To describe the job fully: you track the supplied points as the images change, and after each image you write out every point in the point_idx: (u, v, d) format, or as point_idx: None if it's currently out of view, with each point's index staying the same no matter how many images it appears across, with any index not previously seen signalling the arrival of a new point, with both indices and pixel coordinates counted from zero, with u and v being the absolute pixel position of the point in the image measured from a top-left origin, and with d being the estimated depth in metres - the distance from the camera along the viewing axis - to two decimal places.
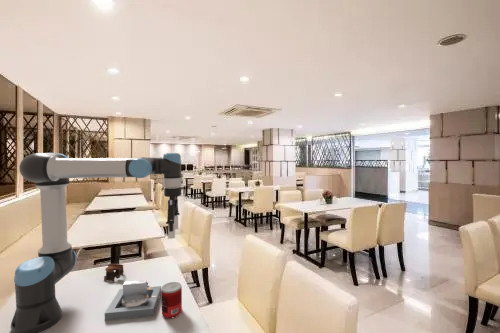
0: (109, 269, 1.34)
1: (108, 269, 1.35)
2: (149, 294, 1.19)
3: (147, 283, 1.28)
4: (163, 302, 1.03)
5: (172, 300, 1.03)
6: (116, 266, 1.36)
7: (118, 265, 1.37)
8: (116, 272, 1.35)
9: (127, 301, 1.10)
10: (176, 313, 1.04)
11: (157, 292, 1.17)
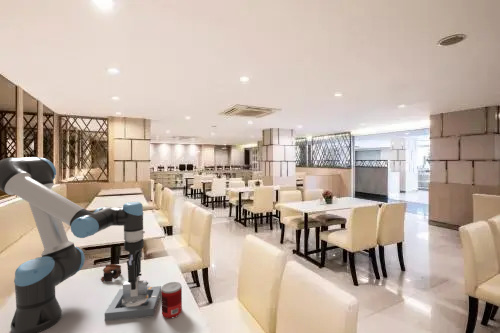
0: (107, 270, 1.34)
1: (106, 270, 1.34)
2: (149, 294, 1.19)
3: (147, 283, 1.28)
4: (163, 302, 1.03)
5: (172, 300, 1.03)
6: (114, 267, 1.36)
7: (116, 266, 1.37)
8: (114, 273, 1.34)
9: (127, 301, 1.10)
10: (176, 313, 1.04)
11: (157, 292, 1.17)
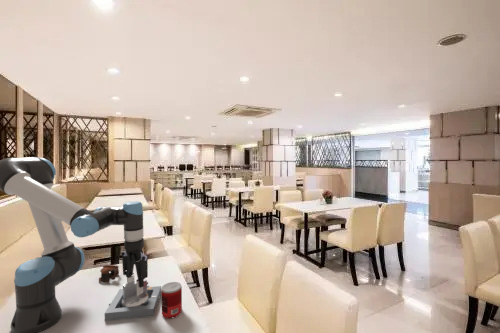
0: (104, 270, 1.33)
1: (103, 270, 1.33)
2: (149, 294, 1.19)
3: (147, 283, 1.28)
4: (163, 302, 1.03)
5: (172, 300, 1.03)
6: (111, 267, 1.35)
7: (113, 266, 1.36)
8: (111, 273, 1.33)
9: (129, 302, 1.09)
10: (176, 313, 1.04)
11: (157, 292, 1.17)
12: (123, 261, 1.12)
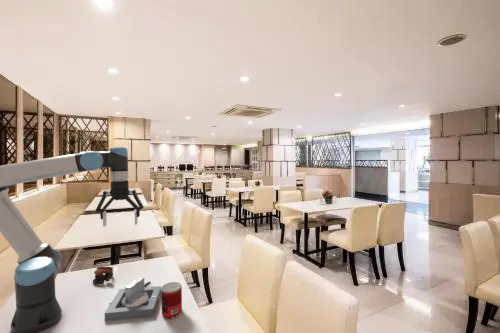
0: (98, 272, 1.31)
1: (97, 272, 1.31)
2: (149, 294, 1.19)
3: (149, 283, 1.28)
4: (163, 302, 1.03)
5: (172, 300, 1.03)
6: (105, 269, 1.33)
7: (107, 268, 1.34)
8: (106, 275, 1.31)
9: (135, 302, 1.09)
10: (176, 313, 1.04)
11: (157, 292, 1.17)
12: (102, 199, 1.21)
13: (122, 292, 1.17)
